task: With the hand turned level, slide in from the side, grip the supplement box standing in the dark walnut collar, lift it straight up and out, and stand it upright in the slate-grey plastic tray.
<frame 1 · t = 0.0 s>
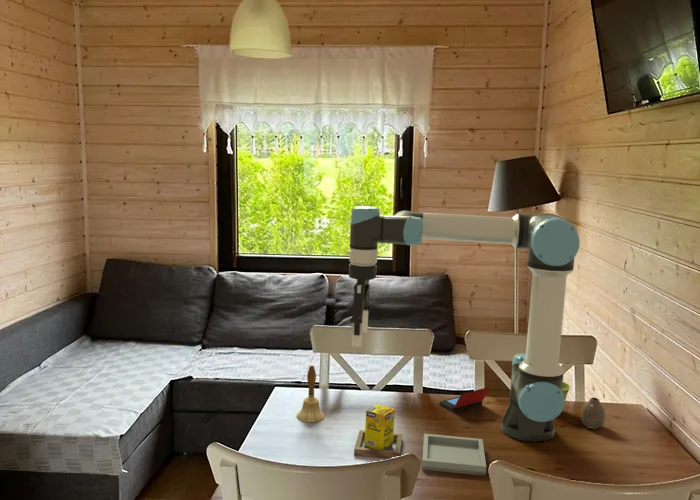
hand: (359, 339, 184), 28 cm above the table, tool pointing down, fingers open, 13 cm apart
walnut collar: (378, 447, 181), on the table
grey tray: (453, 458, 177), on the table
supplement box: (378, 448, 181), resting in walnut collar
plant pot: (552, 411, 212), on the table
vase: (591, 427, 201), on the table
handheld game console: (463, 407, 212), on the table
hand bell: (310, 417, 200), on the table
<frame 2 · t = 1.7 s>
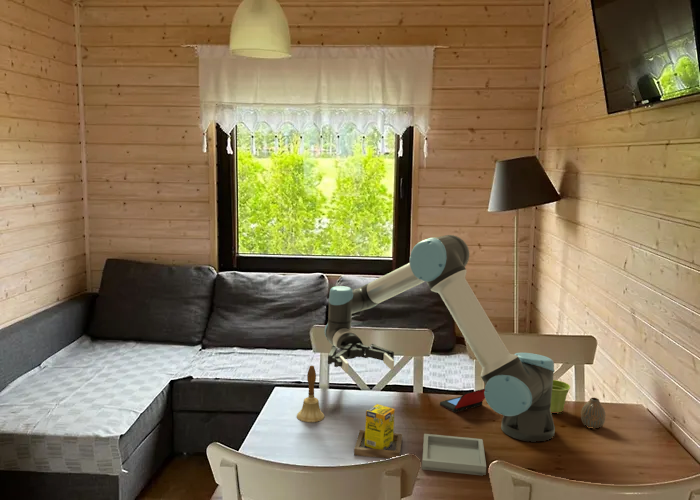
hand: (370, 366, 187), 20 cm above the table, tool horizontal, fingers open, 13 cm apart
nothing on the table moved.
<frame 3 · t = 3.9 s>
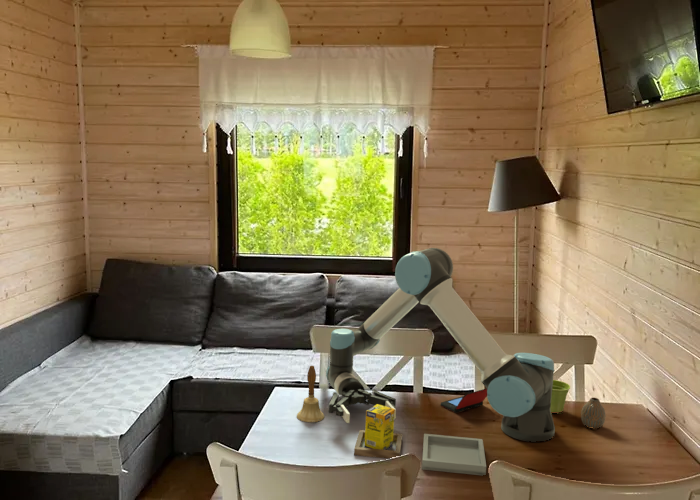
hand: (371, 416, 185), 7 cm above the table, tool horizontal, fingers open, 13 cm apart
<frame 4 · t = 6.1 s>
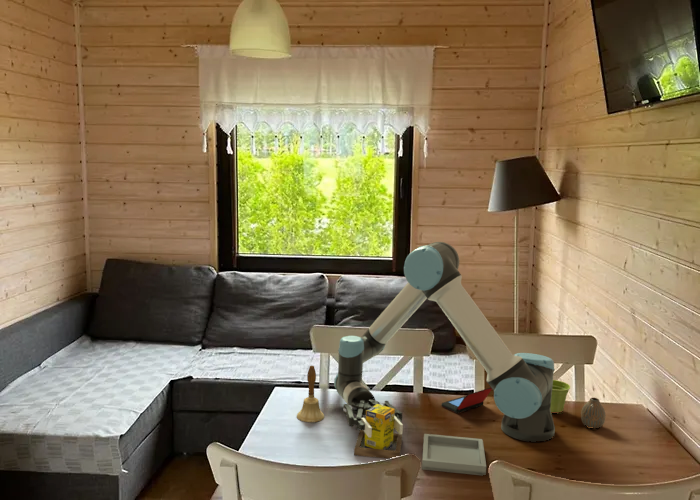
hand: (385, 431, 176), 7 cm above the table, tool horizontal, fingers closed on supplement box, 8 cm apart
supplement box: (378, 448, 181), resting in walnut collar, touching gripper
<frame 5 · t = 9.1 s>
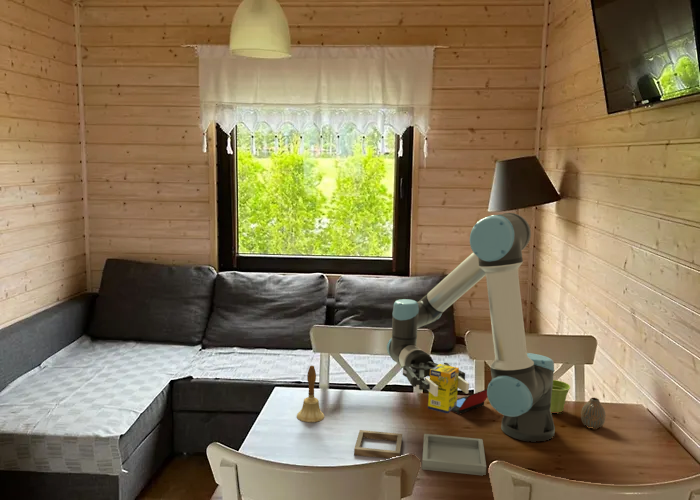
hand: (452, 389, 170), 20 cm above the table, tool horizontal, fingers closed on supplement box, 8 cm apart
supplement box: (442, 408, 176), point 13 cm above the table, touching gripper
when the fingers open (9 cm above the table, at t = 12.3 s): supplement box drops 2 cm, resting on grey tray.
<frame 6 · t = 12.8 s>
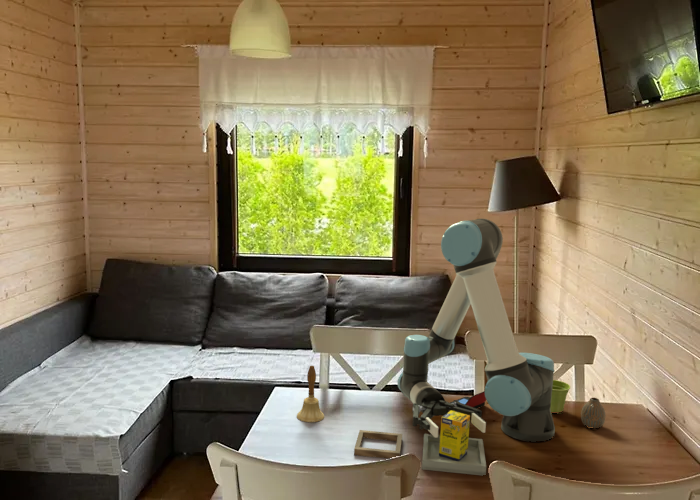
hand: (460, 430, 172), 9 cm above the table, tool horizontal, fingers open, 13 cm apart
supplement box: (453, 455, 177), point 1 cm above the table, touching grey tray
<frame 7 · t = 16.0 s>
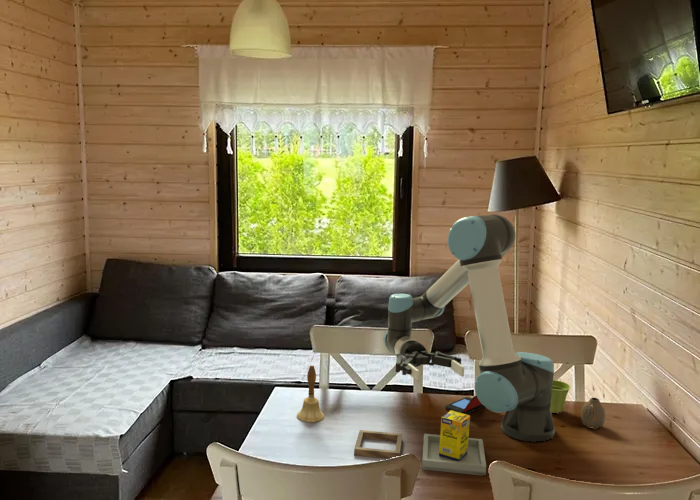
hand: (440, 373, 183), 20 cm above the table, tool horizontal, fingers open, 13 cm apart
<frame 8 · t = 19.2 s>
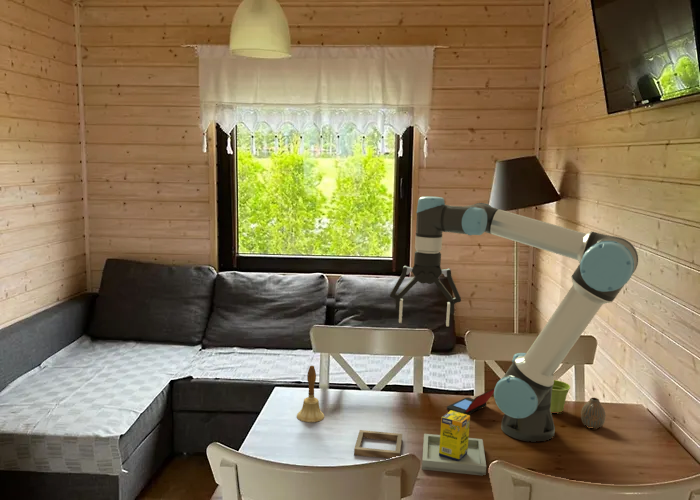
hand: (423, 323, 193), 31 cm above the table, tool pointing down, fingers open, 13 cm apart
at the end: supplement box inside the target area on the grey tray (0.1 cm from its centre), point 0.6 cm above the grey tray's base; supplement box tilted 0°; the gripper is holding nothing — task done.
